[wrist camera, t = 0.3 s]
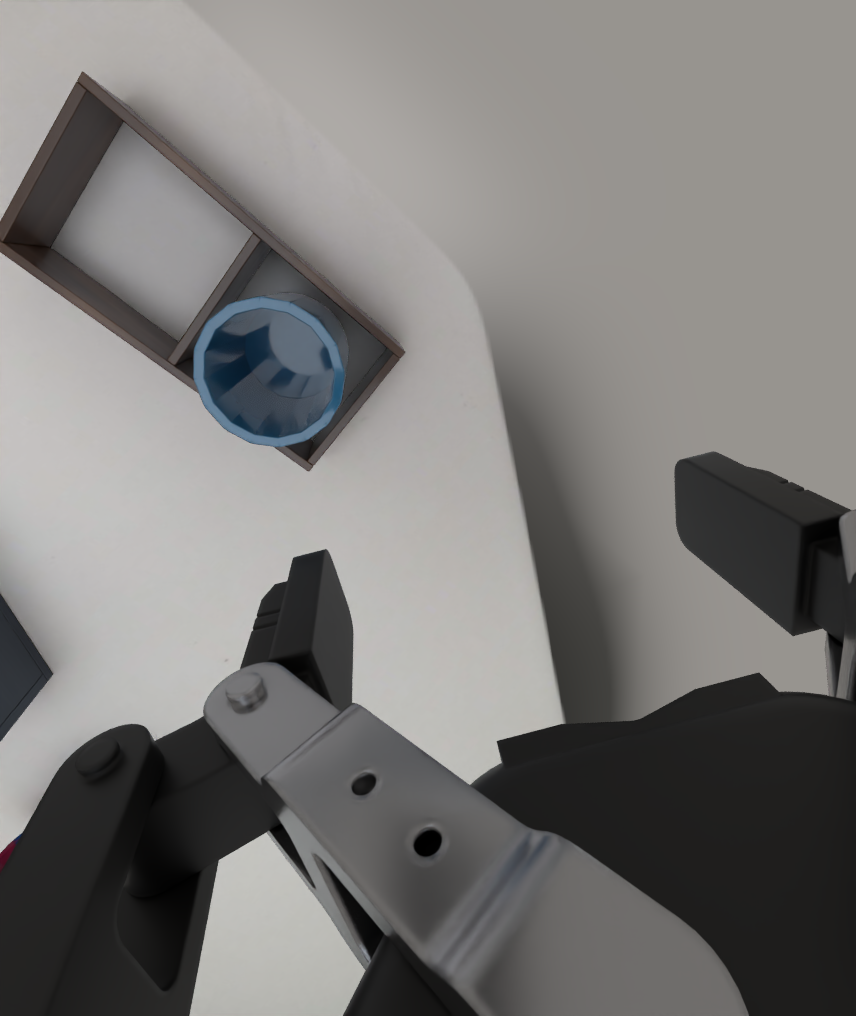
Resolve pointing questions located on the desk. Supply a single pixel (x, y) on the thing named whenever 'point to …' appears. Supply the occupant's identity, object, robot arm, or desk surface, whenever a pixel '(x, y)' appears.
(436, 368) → the desk surface
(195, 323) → the divided wooden frame
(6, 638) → the dark grey square box
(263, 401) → the blue cup
